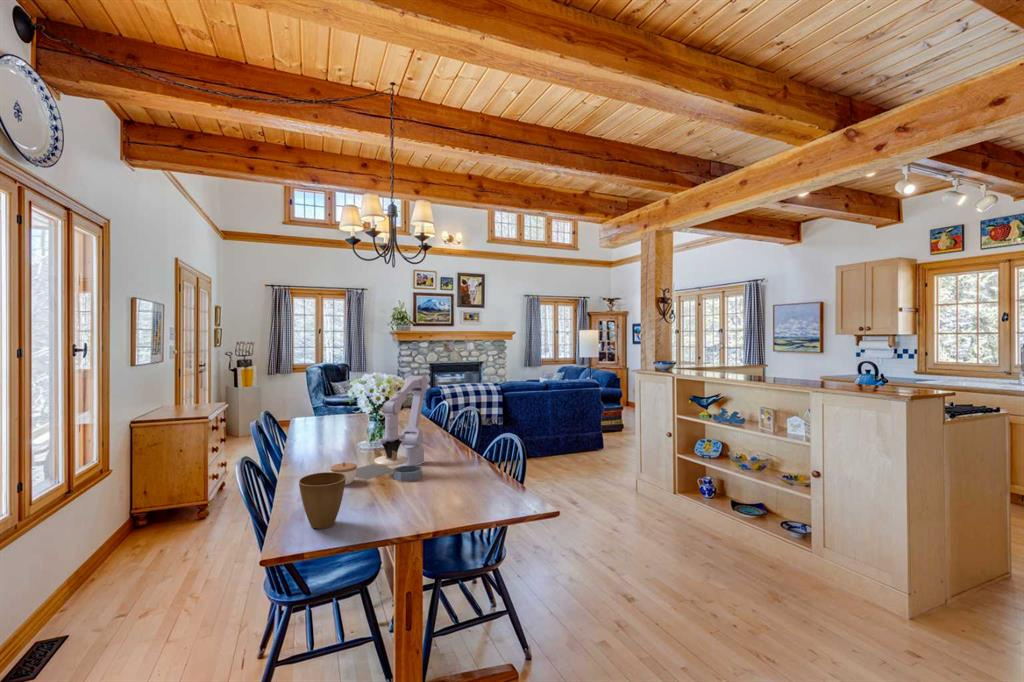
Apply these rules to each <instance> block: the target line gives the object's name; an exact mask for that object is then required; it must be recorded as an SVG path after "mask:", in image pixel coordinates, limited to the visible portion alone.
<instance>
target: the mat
mask: <svg viewBox="0 0 1024 682" xmlns="http://www.w3.org/2000/svg"><path fill="white" fill-rule="evenodd" d="M389 473H394V468H392V467H388V466H384V465H378V464H376V463H371V464H368V465H365V466H361V467H357V472H356V477H355V478H360V479H363V480H370V479H373V478H376V477H380V476H383V475H386V474H389Z"/></svg>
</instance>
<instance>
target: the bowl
mask: <svg viewBox="0 0 1024 682" xmlns="http://www.w3.org/2000/svg"><path fill="white" fill-rule="evenodd" d="M393 469H394V471H393V480H395V481H398V482H400V481H401V482H400V483H406V482H405V481H410V482H415V481H414V480H416V481H418V480H417V479H419V478H421V479H422V477H423V476H422V475H423V474H422V473H423V472H422V471H423V470H422V466H420V465H417V466H415V465H408V466H404V465H399V466H397V467H394V468H393ZM419 480H420V479H419Z"/></svg>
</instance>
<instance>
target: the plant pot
mask: <svg viewBox="0 0 1024 682" xmlns="http://www.w3.org/2000/svg"><path fill="white" fill-rule="evenodd" d="M345 480H346V476H345V475H344V474H342V473H336V472H331V471H329V472H328V471H326V472H324V471H323V472H316V473H311V474H308V475H305V476H302V477H301V478H300V479H299V480H298V487H299V491H300V495H301V496H300V497H301V502H302V505H303V508H304V509H303V510H304V511H305V514H306V518H307V520H308V524H309V525H310V527H311V528H312V527H313V528H312V529H314V528H324V529H328V528H330V526H331V527H332V526H334V525H335V523H336V520H337V517H338V514H339V512H340V509H341V505H342V500H343V496H344V492H345V486H346V485H345ZM333 524H334V525H333ZM327 527H328V528H327Z"/></svg>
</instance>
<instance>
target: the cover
mask: <svg viewBox="0 0 1024 682" xmlns="http://www.w3.org/2000/svg"><path fill="white" fill-rule="evenodd" d="M407 461H408V458H407V457H405V456H404V455H401V454H398V452H395V451H392V457H391V458H387V454H386V453H385V455H381V456H378V457H376V458H374V461H373V462H374V464H375V465H379V466H385V467H388V466H398V465H399V466H400V465H401V464H403V463H406V462H407Z"/></svg>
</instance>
